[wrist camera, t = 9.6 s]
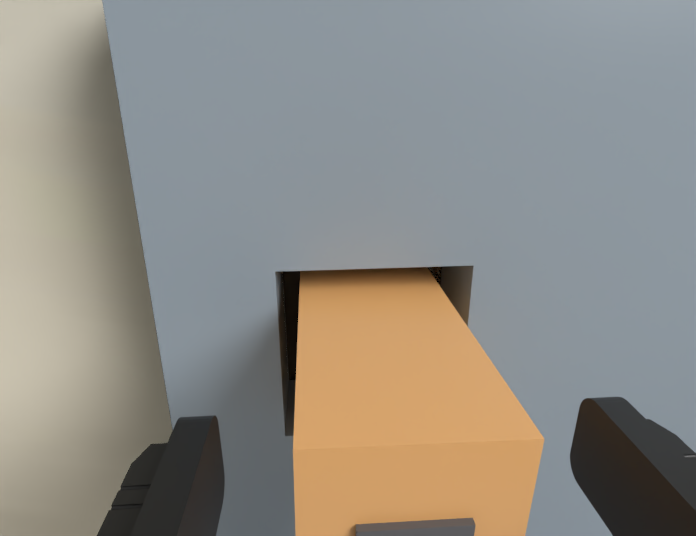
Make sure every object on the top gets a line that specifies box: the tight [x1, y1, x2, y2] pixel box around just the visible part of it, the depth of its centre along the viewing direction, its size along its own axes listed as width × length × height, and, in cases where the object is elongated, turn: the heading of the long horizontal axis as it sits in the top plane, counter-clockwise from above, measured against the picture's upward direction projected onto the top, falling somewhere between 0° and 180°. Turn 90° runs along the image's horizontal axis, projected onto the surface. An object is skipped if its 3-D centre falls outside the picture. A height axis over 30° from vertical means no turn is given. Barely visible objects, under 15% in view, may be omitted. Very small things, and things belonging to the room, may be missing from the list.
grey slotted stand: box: [102, 0, 696, 536], centre depth 11 cm, size 18×21×12 cm
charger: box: [293, 267, 544, 536], centre depth 12 cm, size 4×4×9 cm
